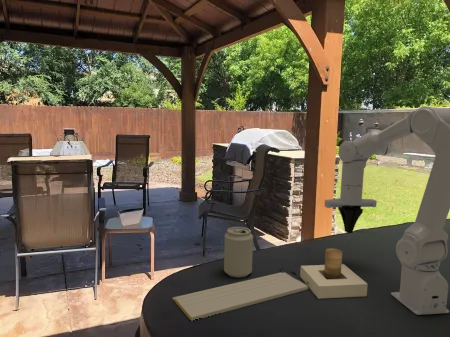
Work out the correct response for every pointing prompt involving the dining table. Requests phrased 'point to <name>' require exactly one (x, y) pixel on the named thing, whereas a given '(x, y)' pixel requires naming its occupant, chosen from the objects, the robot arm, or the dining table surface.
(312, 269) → the socket board
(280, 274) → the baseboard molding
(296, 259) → the dining table surface
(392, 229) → the dining table surface
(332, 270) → the oak peg
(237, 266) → the can
